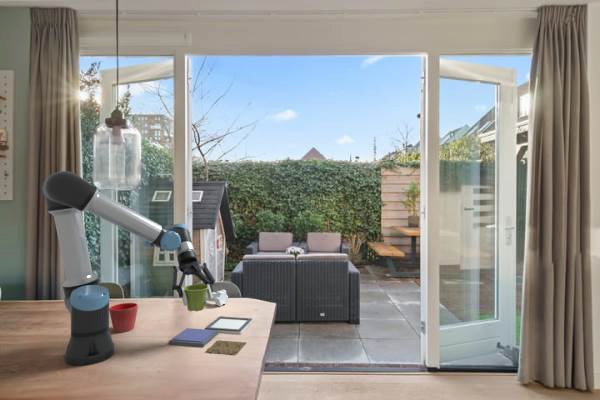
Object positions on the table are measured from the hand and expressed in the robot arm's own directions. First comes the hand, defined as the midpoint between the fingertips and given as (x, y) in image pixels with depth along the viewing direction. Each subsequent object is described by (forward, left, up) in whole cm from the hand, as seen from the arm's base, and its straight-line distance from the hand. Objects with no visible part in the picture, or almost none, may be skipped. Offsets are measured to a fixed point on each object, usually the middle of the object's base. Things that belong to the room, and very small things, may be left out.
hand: (198, 301), depth 144 cm
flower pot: (+6, +37, -15) cm, 40 cm away
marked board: (+18, -5, -15) cm, 24 cm away
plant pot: (+2, +2, -4) cm, 5 cm away
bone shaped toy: (+48, +16, -15) cm, 53 cm away
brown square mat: (-4, -13, -16) cm, 21 cm away
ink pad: (+2, +3, -15) cm, 15 cm away
